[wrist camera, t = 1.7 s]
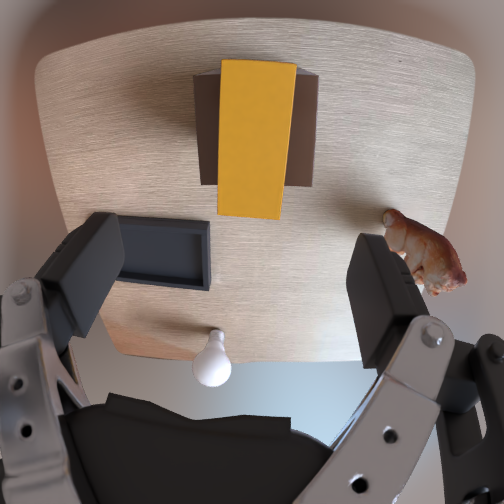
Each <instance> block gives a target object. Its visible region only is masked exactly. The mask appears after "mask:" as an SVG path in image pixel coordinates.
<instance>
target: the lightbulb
mask: <svg viewBox="0 0 504 504" xmlns="http://www.w3.org/2000/svg"><path fill="white" fill-rule="evenodd" d="M224 338H225V334H224V333H223V332H222V331H220V330H212V331H211V332H210V335H209V340H208V343H207V344H206V346H205V348H204V349H203V350H202V351H201V352H200V353H198V354H197V355H196V357H195V358H194V360H193V364H192V371H193V375H194V377H195V378H196V380H197V381H198V382H199V383H201V384H202V385H204V386H208V387H217V386H220V385H222V384H223V383H225V382H226V381H227V380H228V378H229V376H230V373H231V363H230V360H229V358H228V357H227V355H226V354H225V348H224Z"/></svg>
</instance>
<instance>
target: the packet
mask: <svg viewBox="0 0 504 504" xmlns="http://www.w3.org/2000/svg"><path fill="white" fill-rule="evenodd" d="M296 68H297V64H294V63H287V62H277V61H265V60H249V59H222V60H221V81H220V107H219V141H218V205H217V214H218V215H224V216H237V217H250V218H262V219H273V220H280V214H281V206H282V197H283V189H284V180H285V172H286V163H287V154H288V145H289V136H290V127H291V118H292V108H293V98H294V88H295V78H296Z"/></svg>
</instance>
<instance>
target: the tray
mask: <svg viewBox="0 0 504 504" xmlns="http://www.w3.org/2000/svg"><path fill="white" fill-rule="evenodd" d="M117 217H118V221H119V226H120V231H121V236H122V241H123V246H124V252H125V258H124V264H123V267H122V269H121V271H120V273H119V274H118V276H117V278H116V281H123V282H131V283H139V284H148V285H156V286H165V287H174V288H183V289H193V290H202V291H209V289H210V284H211V260H210V222H208V221H194V220H180V219H165V218H149V217H132V216H117Z"/></svg>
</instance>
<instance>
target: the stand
mask: <svg viewBox="0 0 504 504" xmlns="http://www.w3.org/2000/svg"><path fill="white" fill-rule="evenodd" d="M193 81H194V99H195V116H196V130H197V144H198V157H199V169H200V181H201V185H218V141H219V107H220V81H221V68H219V69H215V70H212V71H208V72H204V73H201V74H198V75H194V76H193ZM318 87H319V76H318V75H316V74H313V73H311V72H309V71H306V70H304V69H296V78H295V88H294V98H293V108H292V118H291V127H290V136H289V145H288V154H287V163H286V172H285V180H284V186H304V187H312V183H313V170H314V157H315V143H316V127H317V109H318Z"/></svg>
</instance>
